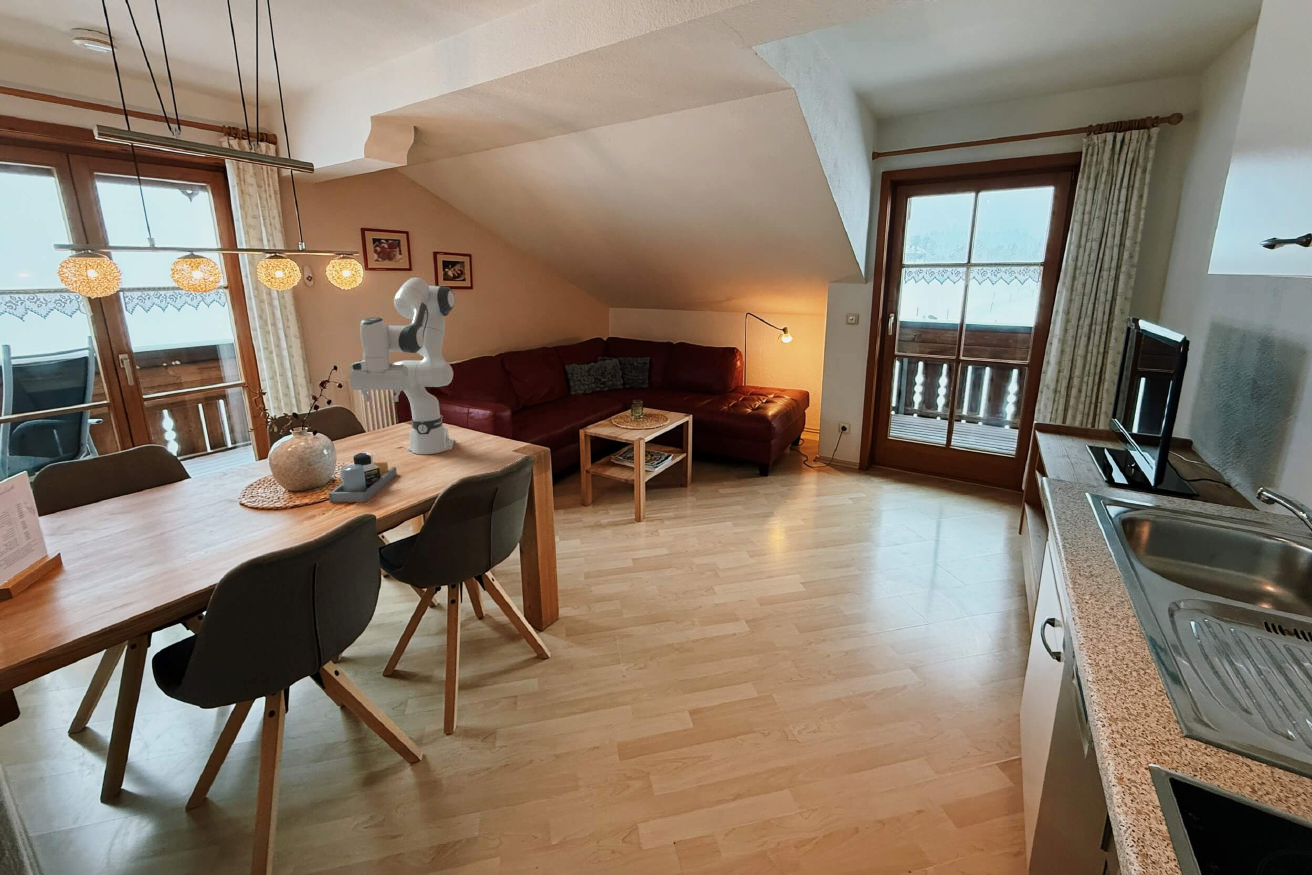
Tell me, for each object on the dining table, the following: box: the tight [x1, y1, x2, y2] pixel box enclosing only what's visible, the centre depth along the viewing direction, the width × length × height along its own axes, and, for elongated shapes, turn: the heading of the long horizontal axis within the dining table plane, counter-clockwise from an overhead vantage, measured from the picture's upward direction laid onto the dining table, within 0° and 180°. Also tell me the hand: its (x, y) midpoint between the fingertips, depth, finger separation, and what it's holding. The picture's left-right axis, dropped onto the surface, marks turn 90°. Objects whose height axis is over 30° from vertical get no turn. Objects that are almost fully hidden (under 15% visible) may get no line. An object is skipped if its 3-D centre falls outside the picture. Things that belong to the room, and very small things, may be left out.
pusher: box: [373, 461, 389, 477], centre depth 212 cm, size 1×9×6 cm, turn 93°
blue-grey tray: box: [328, 466, 398, 503], centre depth 204 cm, size 26×12×4 cm, turn 3°
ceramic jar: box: [340, 464, 367, 492], centre depth 196 cm, size 7×7×10 cm
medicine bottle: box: [353, 452, 381, 489], centre depth 204 cm, size 7×7×12 cm
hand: (382, 401), depth 210 cm, fingers open, 8 cm apart
